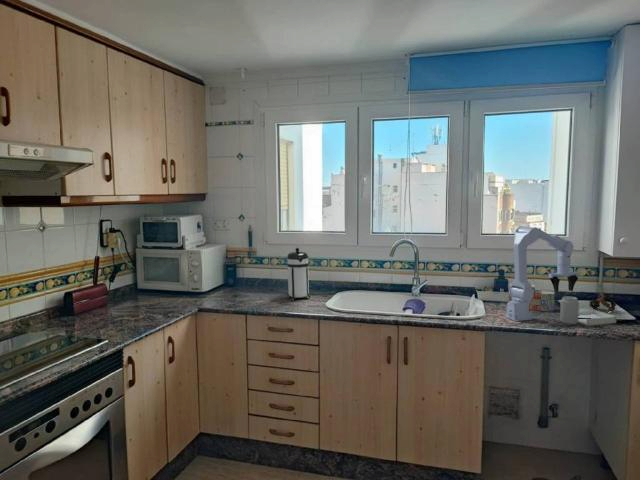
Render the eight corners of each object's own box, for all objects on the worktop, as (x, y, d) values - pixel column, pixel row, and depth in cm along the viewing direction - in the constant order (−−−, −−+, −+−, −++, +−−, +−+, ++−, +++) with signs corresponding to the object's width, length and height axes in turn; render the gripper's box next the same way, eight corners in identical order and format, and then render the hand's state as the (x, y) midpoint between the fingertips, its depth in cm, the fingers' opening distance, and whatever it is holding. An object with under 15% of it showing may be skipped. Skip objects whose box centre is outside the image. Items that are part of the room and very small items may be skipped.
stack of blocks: (554, 309, 241) (554, 285, 239) (554, 312, 235) (554, 288, 234) (509, 305, 250) (509, 282, 249) (508, 308, 244) (508, 285, 243)
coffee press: (317, 296, 282) (315, 246, 278) (302, 302, 268) (300, 250, 265) (293, 293, 291) (292, 245, 288) (277, 298, 278) (276, 248, 274)
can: (568, 326, 212) (569, 300, 211) (556, 321, 219) (556, 296, 218) (582, 324, 214) (583, 298, 213) (569, 319, 221) (570, 295, 220)
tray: (588, 325, 211) (588, 319, 211) (567, 318, 224) (567, 312, 223) (616, 323, 214) (616, 316, 214) (593, 315, 227) (594, 309, 227)
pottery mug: (601, 308, 241) (611, 296, 237) (612, 321, 233) (622, 308, 229) (581, 304, 239) (590, 291, 235) (591, 316, 231) (601, 304, 227)
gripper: (572, 262, 238) (571, 288, 239) (545, 263, 236) (545, 290, 238) (581, 264, 231) (581, 291, 233) (553, 266, 229) (553, 293, 231)
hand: (563, 291), depth 235 cm, fingers open, 7 cm apart
